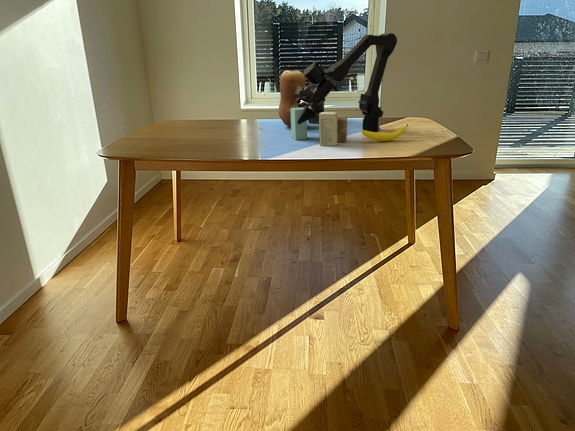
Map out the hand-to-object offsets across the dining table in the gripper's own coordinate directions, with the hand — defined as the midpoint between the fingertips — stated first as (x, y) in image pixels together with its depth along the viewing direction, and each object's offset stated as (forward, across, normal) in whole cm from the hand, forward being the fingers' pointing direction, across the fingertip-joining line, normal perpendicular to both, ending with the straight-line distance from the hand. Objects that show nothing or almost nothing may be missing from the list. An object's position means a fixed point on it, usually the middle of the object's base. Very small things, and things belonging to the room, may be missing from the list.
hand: (295, 122), depth 171 cm
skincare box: (0, +15, +10) cm, 18 cm away
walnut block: (-5, +13, +14) cm, 20 cm away
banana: (-16, +20, +25) cm, 36 cm away
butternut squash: (0, -22, +10) cm, 24 cm away
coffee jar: (-10, -29, +20) cm, 37 cm away
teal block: (+4, 0, +6) cm, 7 cm away
